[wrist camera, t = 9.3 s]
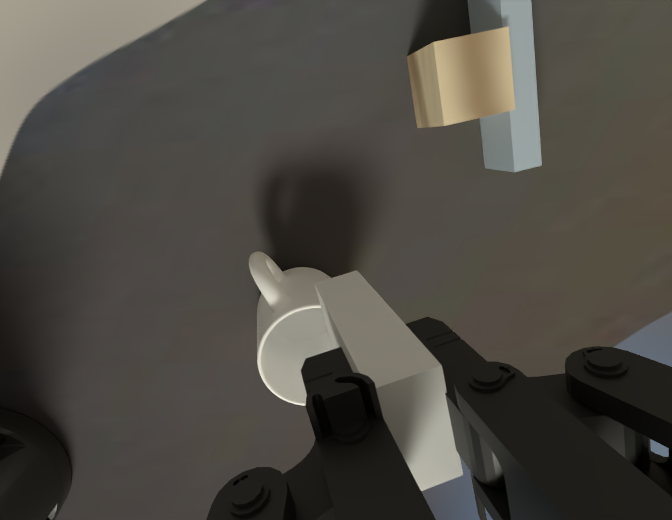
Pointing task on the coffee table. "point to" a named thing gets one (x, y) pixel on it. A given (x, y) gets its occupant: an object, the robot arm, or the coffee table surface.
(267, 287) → the mug
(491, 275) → the coffee table surface
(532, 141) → the board
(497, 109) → the block
